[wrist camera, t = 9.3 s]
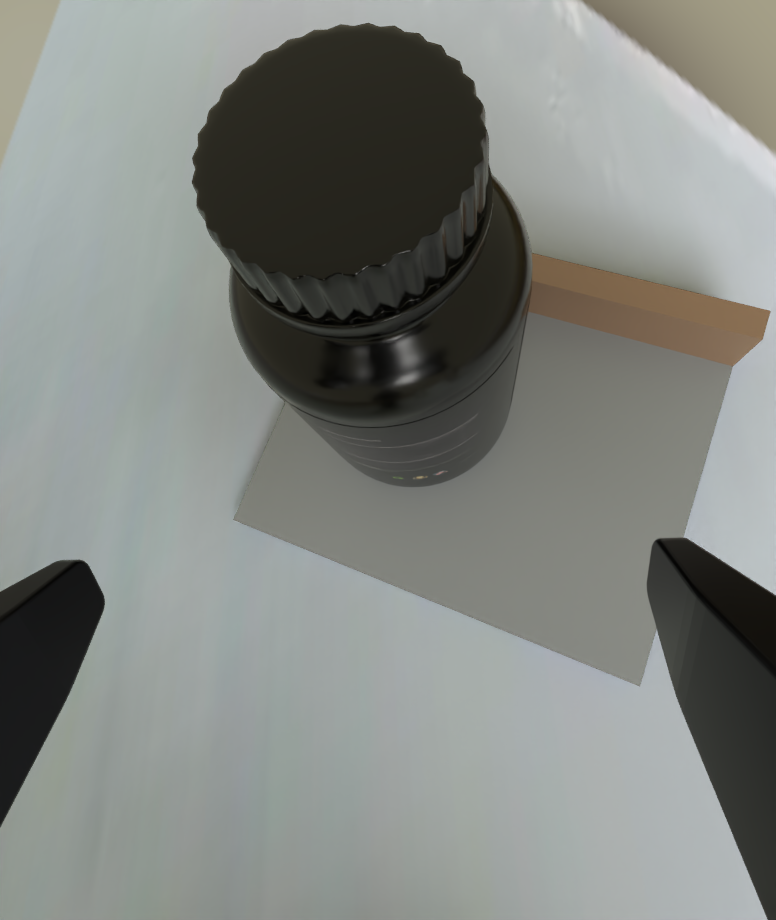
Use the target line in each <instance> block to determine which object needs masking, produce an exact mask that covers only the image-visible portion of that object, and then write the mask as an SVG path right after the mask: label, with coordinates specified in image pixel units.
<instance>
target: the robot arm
mask: <svg viewBox="0 0 776 920" xmlns="http://www.w3.org/2000/svg"><path fill="white" fill-rule="evenodd" d="M647 594H648V599H649V603H650V606H651V610H652V613H653V617H654V620H655V624H656V628H657V631H658V635H659V638H660V642H661V645H662V649H663V652H664V656H665V659H666V663H667V667H668V670H669V674H670V677H671V681H672V684H673V687H674V690H675V694H676V697H677V699H678V702H679V705H680V707H681V710H682V713H683V715H684V717H685V720H686V722H687V725H688V727H689V730H690V732H691V734H692V737H693V739H694V742H695V744H696V747H697V749H698V751H699V754H700V756H701V759H702V761H703V764H704V766H705V768H706V771H707V773H708V776H709V778H710V781H711V783H712V785H713V788H714V790H715V793H716V795H717V798H718V800H719V802H720V805H721V807H722V810H723V812H724V815H725V817H726V819H727V822H728V824H729V827H730V829H731V832H732V834H733V836H734V839H735V841H736V844H737V846H738V849H739V851H740V853H741V856H742V858H743V861H744V863H745V866H746V868H747V870H748V873H749V875H750V878H751V880H752V883H753V885H754V887H755V890H756V892H757V895H758V897H759V900H760V902H761V904H762V907H763V909H764V912H765V914H766V917H767V919H768V920H776V595H774V594H773V593H771V592H770V591H768V590H767V589H765V588H764V587H762V586H760V585H759V584H757V583H756V582H754V581H753V580H751V579H750V578H748V577H746V576H745V575H743V574H742V573H740V572H739V571H737V570H736V569H734V568H732V567H731V566H729V565H728V564H726V563H725V562H723V561H722V560H720V559H718V558H717V557H715V556H714V555H712V554H711V553H709V552H708V551H706V550H704V549H703V548H701V547H700V546H698V545H697V544H695V543H694V542H692V541H690V540H689V539H687V538H682V537H677V538H658V539H656V540H655V541H654V542H653V544H652V548H651V554H650V562H649V569H648V576H647ZM104 605H105V599H104V595H103V593H102V591H101V589H100V587H99V585H98V583H97V581H96V579H95V577H94V575H93V573H92V571H91V569H90V567H89V565H88V564H87V563H86V562H84V561H82V560H60V561H56V562H54V563H52V564H51V565H49V566H47V567H45V568H43V569H41V570H39V571H38V572H36V573H34V574H32V575H30V576H28V577H27V578H25V579H23V580H21V581H19V582H17V583H16V584H14V585H12V586H10V587H8V588H6V589H5V590H3V591H1V592H0V827H1V825H2V823H3V821H4V819H5V817H6V815H7V813H8V812H9V810H10V808H11V806H12V804H13V802H14V800H15V798H16V796H17V794H18V792H19V790H20V788H21V787H22V785H23V783H24V781H25V779H26V777H27V775H28V773H29V771H30V769H31V767H32V765H33V763H34V762H35V760H36V758H37V756H38V754H39V752H40V750H41V748H42V746H43V744H44V742H45V740H46V738H47V737H48V735H49V733H50V731H51V729H52V727H53V725H54V723H55V721H56V719H57V717H58V715H59V713H60V711H61V710H62V708H63V706H64V703H65V701H66V699H67V697H68V695H69V693H70V691H71V689H72V686H73V684H74V682H75V679H76V677H77V674H78V672H79V669H80V667H81V665H82V662H83V660H84V657H85V655H86V652H87V650H88V647H89V645H90V642H91V640H92V638H93V635H94V633H95V630H96V628H97V625H98V623H99V620H100V618H101V615H102V613H103V610H104Z"/></svg>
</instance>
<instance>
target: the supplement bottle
mask: <svg viewBox="0 0 776 920" xmlns="http://www.w3.org/2000/svg"><path fill="white" fill-rule="evenodd" d="M192 160H193V164H194V166H195V172H194V175H193V180H192V184H193V187H194V189H195V191H196V193H197V208H198V210H199V213H200V214H201V216H202V217H203V219H204V220H205V222H206V227H207V230H208V232H209V234H210V236H211V237H212V239H213V240H214V242H215V243H216V244H217V246H218V247H219V248H220V250H221V251H222V252H223V253H224V255H225V256H226V257H227V259H228V260H229V262H230V264H231V269H230V278H229V302H230V310H231V316H232V321H233V325H234V328H235V332H236V334H237V337H238V340H239V342H240V345H241V347H242V349H243V351H244V353H245V355H246V357H247V358H248V360H249V361H250V363H251V364H252V366H253V367H254V369H255V370H256V371H257V372H258V374H259V375H260V376H261V377H262V378H263V380H264V381H265V382H266V383H267V384H268V386H269V387H270V388H271V389H272V390H273V391H274V392H275V393H276V394H277V395H278V396H279V397H280V398H281V399H283V400H284V401H285V402H286V403H287V404H288V405H289V406H290V407H291V408H292V409H293V410H294V411H295V412H296V413H297V414H298V415H299V416H300V417H301V418H302V419H303V420H304V421H305V422H306V423H307V424H308V425H309V426H310V427H311V428H312V429H314V430H315V431H316V432H317V433H318V434H319V435H320V436H321V437H322V438H323V439H324V440H325V441H326V442H327V443H328V444H329V445H330V446H331V447H332V448H333V449H334V450H335V451H336V452H337V453H338V454H339V455H340V456H341V457H343V458H344V459H345V460H346V461H347V462H348V463H349V464H351V465H352V466H353V467H354V468H356V469H357V470H358V471H360V472H362V473H363V474H365V475H367V476H369V477H371V478H373V479H375V480H377V481H380V482H383V483H386V484H390V485H394V486H401V487H425V486H432V485H436V484H440V483H443V482H446V481H449V480H451V479H453V478H456V477H458V476H460V475H462V474H463V473H465V472H467V471H468V470H470V469H471V468H472V467H474V466H475V465H476V464H477V463H479V462H480V461H481V460H482V459H483V458H484V457H485V456H486V455H487V454H488V453H489V451H490V450H491V449H492V447H493V446H494V445H495V443H496V442H497V440H498V438H499V437H500V435H501V433H502V431H503V429H504V427H505V424H506V421H507V419H508V415H509V411H510V407H511V403H512V399H513V393H514V388H515V382H516V377H517V371H518V366H519V360H520V355H521V349H522V344H523V338H524V333H525V327H526V322H527V316H528V311H529V304H530V297H531V290H532V269H533V264H532V252H531V246H530V241H529V237H528V233H527V230H526V227H525V224H524V221H523V219H522V217H521V214H520V212H519V210H518V208H517V206H516V205H515V203H514V201H513V200H512V198H511V196H510V195H509V194H508V192H507V191H506V190H505V188H504V187H503V186H502V184H501V183H500V182H499V181H498V180H497V179H496V178H495V177H494V176H493V175H492V174H491V171H490V167H489V163H488V162H489V137H488V133H487V130H486V127H485V110H484V106H483V104H482V103H481V101H480V100H479V98H478V97H477V96H476V88H475V84H474V81H473V80H471V79H470V78H469V77H468V76H467V75H465V74H464V73H463V70H462V67H461V64H460V61H458V60H456V59H454V58H452V57H450V56H448V55H446V53H445V50H444V49H443V47H442V46H441V45H438V44H435V43H431V42H427V41H426V40H425V39H424V37H423V36H421V35H420V34H419V33H411V32H404V31H402V30H401V29H399V28H397V27H396V26H385V27H378V26H375V25H373V24H370V23H365V24H361V25H357V26H348V25H342V24H341V25H338V26H335V27H333V28H330V29H328V30H313V31H312V32H310V33H308V34H306V35H305V36H303V37H300V38H295V39H290V40H287V41H286V42H285V43H283V44H282V45H281V46H280V47H279V48H277V49H275V50H272V51H269V52H266V53H264V54H263V55H262V56H261V57H260V58H259V59H258V60H257V62H256V63H255V64H253V65H251V66H249V67H247V68H245V69H243V70H242V71H241V73H240V74H239V76H238V77H237V79H236V81H235V82H233V83H232V84H231V85H229V86H228V87H226V88H225V89H224V90H223V92H222V95H221V97H220V100H219V102H218V103H217V104H216V105H215V106H213V107H212V108H211V109H210V110H209V113H208V117H207V123H206V124H205V126H204V127H203V128H202V129H201V131H200V132H199V134H198V147H197V149H196V151H195V153H194V155H193V158H192Z"/></svg>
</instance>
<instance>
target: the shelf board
mask: <svg viewBox="0 0 776 920" xmlns="http://www.w3.org/2000/svg"><path fill="white" fill-rule="evenodd" d="M532 264H533V269H532V290H531V297H530V304H529V311H528V316H527V322H526V327H525V333H524V338H523V344H522V349H521V355H520V360H519V366H518V371H517V377H516V382H515V388H514V393H513V399H512V403H511V407H510V411H509V415H508V419H507V421H506V424H505V427H504V429H503V431H502V433H501V435H500V437H499V438H498V440H497V442H496V443H495V445H494V446H493V447H492V449H491V450H490V451H489V453H488V454H487V455H486V456H485V457H484V458H483V459H482V460H481V461H480V462H479V463H477V464H476V465H475V466H474V467H472V468H471V469H470V470H468V471H467V472H465V473H463V474H462V475H460V476H458V477H456V478H453V479H451V480H449V481H446V482H443V483H440V484H436V485H432V486H425V487H401V486H394V485H390V484H386V483H383V482H380V481H377V480H375V479H373V478H371V477H369V476H367V475H365V474H363V473H362V472H360V471H358V470H357V469H356V468H354V467H353V466H352V465H351V464H349V463H348V462H347V461H346V460H345V459H344V458H343V457H341V456H340V455H339V454H338V453H337V452H336V451H335V450H334V449H333V448H332V447H331V446H330V445H329V444H328V443H327V442H326V441H325V440H324V439H323V438H322V437H321V436H320V435H319V434H318V433H317V432H316V431H315V430H314V429H312V428H311V427H310V426H309V425H308V424H307V423H306V422H305V421H304V420H303V419H302V418H301V417H300V416H299V415H298V414H297V413H296V412H295V411H294V410H293V409H292V408H291V407H290V406H289V405H288V404H287V403H286V402H285V405H284V407H283V409H282V411H281V413H280V416H279V418H278V420H277V422H276V425H275V427H274V429H273V431H272V434H271V436H270V438H269V440H268V443H267V445H266V447H265V449H264V452H263V454H262V456H261V458H260V461H259V463H258V465H257V467H256V470H255V472H254V474H253V476H252V479H251V481H250V483H249V485H248V488H247V490H246V492H245V494H244V497H243V499H242V501H241V503H240V506H239V508H238V510H237V512H236V514H235V517H234V519H233V520H235V521H238V522H240V523H242V524H245V525H247V526H250V527H252V528H255V529H257V530H260V531H262V532H264V533H267V534H269V535H272V536H274V537H277V538H279V539H281V540H284V541H286V542H289V543H291V544H294V545H296V546H299V547H301V548H303V549H306V550H308V551H311V552H313V553H316V554H318V555H321V556H323V557H325V558H328V559H330V560H333V561H335V562H338V563H340V564H343V565H345V566H347V567H350V568H352V569H355V570H357V571H360V572H362V573H364V574H367V575H369V576H372V577H374V578H377V579H379V580H382V581H384V582H386V583H389V584H391V585H394V586H396V587H399V588H401V589H404V590H406V591H408V592H411V593H413V594H416V595H418V596H421V597H423V598H425V599H428V600H430V601H433V602H435V603H438V604H440V605H443V606H445V607H447V608H450V609H452V610H455V611H457V612H460V613H462V614H465V615H467V616H469V617H472V618H474V619H477V620H479V621H482V622H484V623H486V624H489V625H491V626H494V627H496V628H499V629H501V630H504V631H506V632H508V633H511V634H513V635H516V636H518V637H521V638H523V639H526V640H528V641H530V642H533V643H535V644H538V645H540V646H543V647H545V648H547V649H550V650H552V651H555V652H557V653H560V654H562V655H565V656H567V657H569V658H572V659H574V660H577V661H579V662H582V663H584V664H587V665H589V666H591V667H594V668H596V669H599V670H601V671H604V672H606V673H609V674H611V675H613V676H616V677H618V678H621V679H623V680H626V681H628V682H630V683H633V684H635V685H638V686H640V684H641V681H642V677H643V674H644V670H645V667H646V663H647V660H648V657H649V653H650V650H651V646H652V643H653V639H654V636H655V632H656V629H657V628H656V624H655V620H654V617H653V613H652V610H651V606H650V603H649V599H648V594H647V576H648V569H649V562H650V554H651V548H652V544H653V542H654V541H655V540H656V539H658V538H677V537H682V538H683V536H684V533H685V529H686V526H687V522H688V519H689V515H690V512H691V508H692V505H693V502H694V498H695V495H696V491H697V488H698V484H699V481H700V477H701V474H702V471H703V467H704V464H705V460H706V457H707V453H708V450H709V446H710V443H711V440H712V436H713V433H714V429H715V426H716V422H717V419H718V415H719V412H720V409H721V405H722V402H723V398H724V395H725V391H726V388H727V384H728V381H729V377H730V374H731V371H732V367H733V366H734V365H735V364H736V363H737V362H738V361H739V360H740V359H741V358H743V357H744V356H745V355H746V354H747V353H748V352H749V351H750V350H751V349H752V348H754V347H755V346H756V345H757V344H758V343H759V342H760V341H761V340H762V339H763V336H764V332H765V329H766V325H767V322H768V318H769V314H770V311H769V310H764V309H760V308H756V307H752V306H748V305H744V304H740V303H736V302H731V301H727V300H723V299H719V298H715V297H711V296H707V295H703V294H698V293H694V292H690V291H686V290H682V289H678V288H674V287H670V286H665V285H661V284H657V283H653V282H649V281H645V280H641V279H637V278H632V277H628V276H624V275H620V274H616V273H612V272H608V271H604V270H599V269H595V268H591V267H587V266H583V265H579V264H575V263H571V262H566V261H562V260H558V259H554V258H550V257H546V256H542V255H538V254H533V253H532Z"/></svg>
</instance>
